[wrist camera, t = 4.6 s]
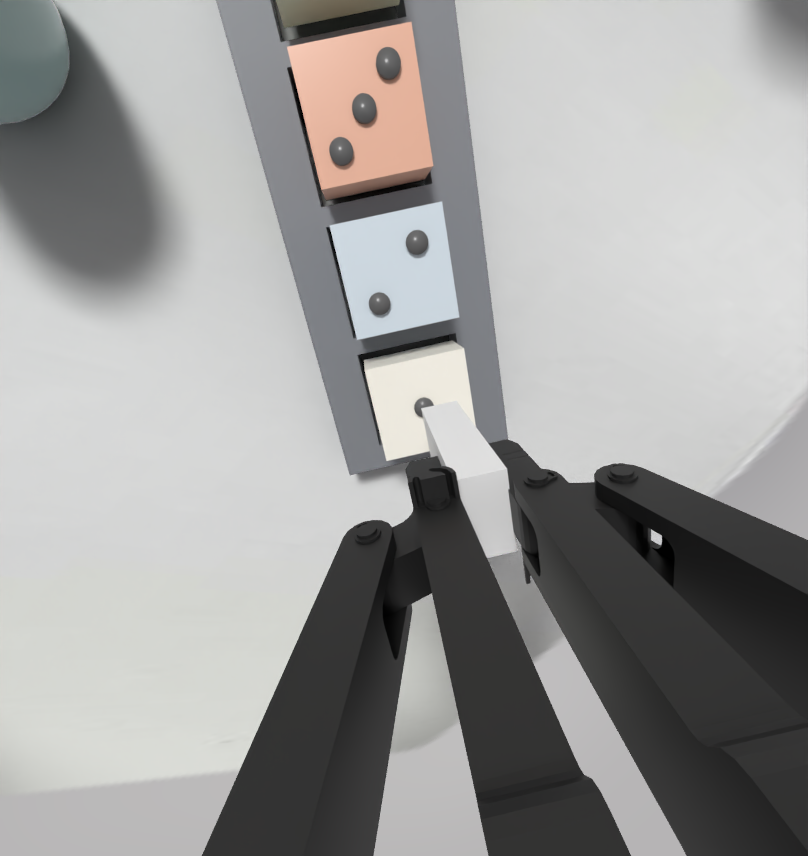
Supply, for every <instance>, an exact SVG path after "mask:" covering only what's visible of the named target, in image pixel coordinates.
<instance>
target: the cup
mask: <svg viewBox="0 0 808 856" xmlns="http://www.w3.org/2000/svg"><path fill="white" fill-rule="evenodd" d="M69 66H70V51H69V45H68V39H67V33H66V30H65V27H64V24H63V21H62V19H61V16H60V13H59V11H58V9H57V7H56V5H55V3H54V1H53V0H0V124H9V123H17V122H22V121H25V120H27V119H30V118H32V117H35V116H37V115H38V114H40V113H41V112H43V111H44V110H46V109H47V108H48V107H50V106H51V105H52V103H53V102H54V101H55V100H56V99H57V98H58V97H59V95H60V93H61V91H62V90H63V88H64V86H65V84H66V80H67V77H68V73H69Z"/></svg>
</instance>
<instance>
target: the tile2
mask: <svg viewBox="0 0 808 856" xmlns="http://www.w3.org/2000/svg"><path fill="white" fill-rule="evenodd" d="M330 230H331V234H332V238H333V242H334V246H335V250H336V255H337V259H338V263H339V267H340V271H341V275H342V279H343V283H344V288H345V292H346V296H347V300H348V304H349V308H350V312H351V316H352V321H353V325H354V329H355V333H356V337H357V340H359V339H364V338H368V337H373V336H377V335H382V334H386V333H391V332H395V331H400V330H404V329H409V328H413V327H418V326H423V325H427V324H432V323H436V322H441V321H445V320H450V319H454V318H459V311H458V304H457V298H456V291H455V284H454V278H453V271H452V265H451V258H450V251H449V245H448V238H447V231H446V225H445V218H444V211H443V205H442V201H441V202H437V203H432V204H427V205H423V206H418V207H413V208H409V209H404V210H400V211H395V212H390V213H386V214H381V215H376V216H372V217H367V218H362V219H358V220H353V221H348V222H344V223H339V224H334V225H330Z"/></svg>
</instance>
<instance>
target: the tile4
mask: <svg viewBox="0 0 808 856" xmlns="http://www.w3.org/2000/svg"><path fill="white" fill-rule="evenodd" d="M399 2H400V0H276V3H277V6H278V9H279V13H280V16H281V19H282V23H283V26H284V28H287V27H292V26H297V25H302V24H307V23H312V22H317V21H322V20H327V19H332V18H337V17H342V16H347V15H352V14H356V13H361V12H366V11H371V10H376V9H381V8H386V7H391V6H396V5H399Z"/></svg>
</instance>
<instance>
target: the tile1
mask: <svg viewBox="0 0 808 856" xmlns="http://www.w3.org/2000/svg"><path fill="white" fill-rule="evenodd" d="M364 369H365V374H366V378H367V383H368V387H369V391H370V395H371V399H372V403H373V407H374V411H375V416H376V420H377V424H378V428H379V432H380V436H381V440H382V444H383V449H384V453H385V457H386V461H389V460H393V459H398V458H402V457H407V456H411V455H415V454H420V453H424V452H428V451H430V450H429V445H428V440H427V435H426V430H425V425H424V420H423V415H422V410H421V408H425V407H430V406H434V405H439V404H443V403H448V402H452V401H457V402H458V404H459V405H460V406H461V408H462V409H463V410H464V412H465V413H466V414H467V416H468V417H469V418H470V420H471V421H472V422H473V424H474V425H475V426H476V424H475V417H474V411H473V404H472V397H471V391H470V384H469V378H468V371H467V364H466V358H465V351H464V348H463V347H462V346H460V345H459V344H457V343H456V342H454V341H453V340H452V341H447V342H443V343H438V344H434V345H429V346H425V347H420V348H416V349H411V350H407V351H402V352H398V353H393V354H389V355H384V356H380V357H376V358H371V359H367V360H364Z"/></svg>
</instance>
